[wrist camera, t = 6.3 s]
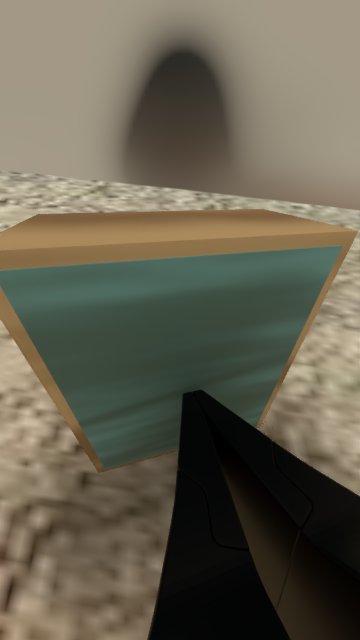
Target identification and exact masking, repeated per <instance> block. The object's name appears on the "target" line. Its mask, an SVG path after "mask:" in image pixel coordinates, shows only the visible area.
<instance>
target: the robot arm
mask: <svg viewBox="0 0 360 640" xmlns="http://www.w3.org/2000/svg"><path fill="white" fill-rule="evenodd" d="M177 469H178V470H177V479H176V490H175V500H174V507H173V513H172V519H171V525H170V531H169V536H168V541H167V547H166V552H165V557H164V563H163V568H162V573H161V578H160V584H159V589H158V594H157V599H156V604H155V609H154V614H153V618H152V622H151V627H150V631H149V635H148V639H147V640H360V496H359V495H357V494H355V493H354V492H352V491H350V490H349V489H347V488H346V487H344V486H342V485H341V484H339V483H337V482H336V481H334V480H332V479H331V478H329V477H327V476H326V475H324V474H322V473H321V472H319V471H318V470H316V469H314V468H313V467H311V466H310V465H308V464H307V463H305V462H303V461H302V460H300V459H299V458H297V457H296V456H294V455H293V454H291V453H290V452H288V451H287V450H286V449H284V448H283V447H281V446H280V445H279V444H277V443H276V442H274V441H272V440H271V439H270V438H269V437H267V436H266V435H264V434H263V433H262V432H260V431H259V430H258V429H256V428H255V427H253V426H252V425H251V424H249V423H248V422H246V421H245V420H244V419H242V418H241V417H239V416H238V415H237V414H235V413H234V412H232V411H231V410H230V409H228V408H227V407H226V406H224V405H223V404H221V403H220V402H219V401H217V400H216V399H214V398H213V397H212V396H210V395H209V394H207V393H206V392H205V391H203V390H201V389H200V390H195V391H193V392H186V393H183V396H182V410H181V424H180V439H179V453H178V467H177Z"/></svg>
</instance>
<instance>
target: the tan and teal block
mask: <svg viewBox="0 0 360 640" xmlns="http://www.w3.org/2000/svg"><path fill="white" fill-rule="evenodd" d="M357 233H358V231H357V230H353V229H348V228H344V227H339V226H335V225H331V224H326V223H322V222H317V221H313V220H309V219H304V218H300V217H295V216H291V215H287V214H282V213H278V212H273V211H269V210H265V209H244V210H200V211H156V212H111V213H67V214H38V215H36V216H33V217H31V218H29V219H27V220H25V221H23V222H21V223H19V224H17V225H15V226H13V227H11V228H9V229H7V230H4V231H2V232H0V319H1V320H2V322H3V324H4V325H5V327H6V328H7V330H8V331H9V333H10V334H11V336H12V338H13V339H14V341H15V342H16V344H17V345H18V347H19V349H20V350H21V352H22V353H23V355H24V356H25V358H26V360H27V361H28V363H29V364H30V366H31V367H32V369H33V371H34V372H35V374H36V375H37V377H38V378H39V380H40V382H41V383H42V385H43V386H44V388H45V389H46V391H47V392H48V394H49V396H50V397H51V399H52V400H53V402H54V403H55V405H56V407H57V408H58V410H59V411H60V413H61V414H62V416H63V418H64V419H65V421H66V422H67V424H68V425H69V427H70V429H71V430H72V432H73V433H74V435H75V436H76V438H77V440H78V441H79V443H80V444H81V446H82V447H83V449H84V450H85V452H86V454H87V455H88V457H89V458H90V460H91V461H92V463H93V465H94V466H95V468H96V469H97V471H98V472H99V473H100V472H104V471H107V470H111V469H114V468H118V467H121V466H125V465H129V464H132V463H136V462H139V461H143V460H146V459H150V458H153V457H157V456H161V455H164V454H168V453H171V452H175V451H178V450H179V439H180V424H181V410H182V396H183V393H186V392H193V391H195V390H200V389H201V390H203V391H205V392H206V393H207V394H209V395H210V396H212V397H213V398H214V399H216V400H217V401H219V402H220V403H221V404H223V405H224V406H226V407H227V408H228V409H230V410H231V411H232V412H234V413H235V414H237V415H238V416H239V417H241V418H242V419H244V420H245V421H246V422H248V423H249V424H251V425H252V426H253V427H255V428H256V429H257V428H260V426H261V424H262V422H263V420H264V418H265V416H266V414H267V412H268V410H269V408H270V406H271V404H272V402H273V400H274V398H275V396H276V394H277V392H278V390H279V388H280V386H281V384H282V382H283V380H284V378H285V376H286V374H287V372H288V370H289V368H290V366H291V364H292V362H293V360H294V358H295V356H296V354H297V352H298V350H299V348H300V346H301V344H302V342H303V340H304V338H305V336H306V334H307V332H308V330H309V328H310V326H311V324H312V322H313V320H314V318H315V316H316V314H317V312H318V310H319V308H320V306H321V304H322V302H323V300H324V298H325V296H326V294H327V292H328V290H329V288H330V286H331V284H332V282H333V280H334V278H335V276H336V274H337V272H338V270H339V268H340V266H341V264H342V262H343V260H344V259H345V257H346V255H347V253H348V251H349V249H350V247H351V245H352V243H353V241H354V239H355V237H356V235H357Z"/></svg>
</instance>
